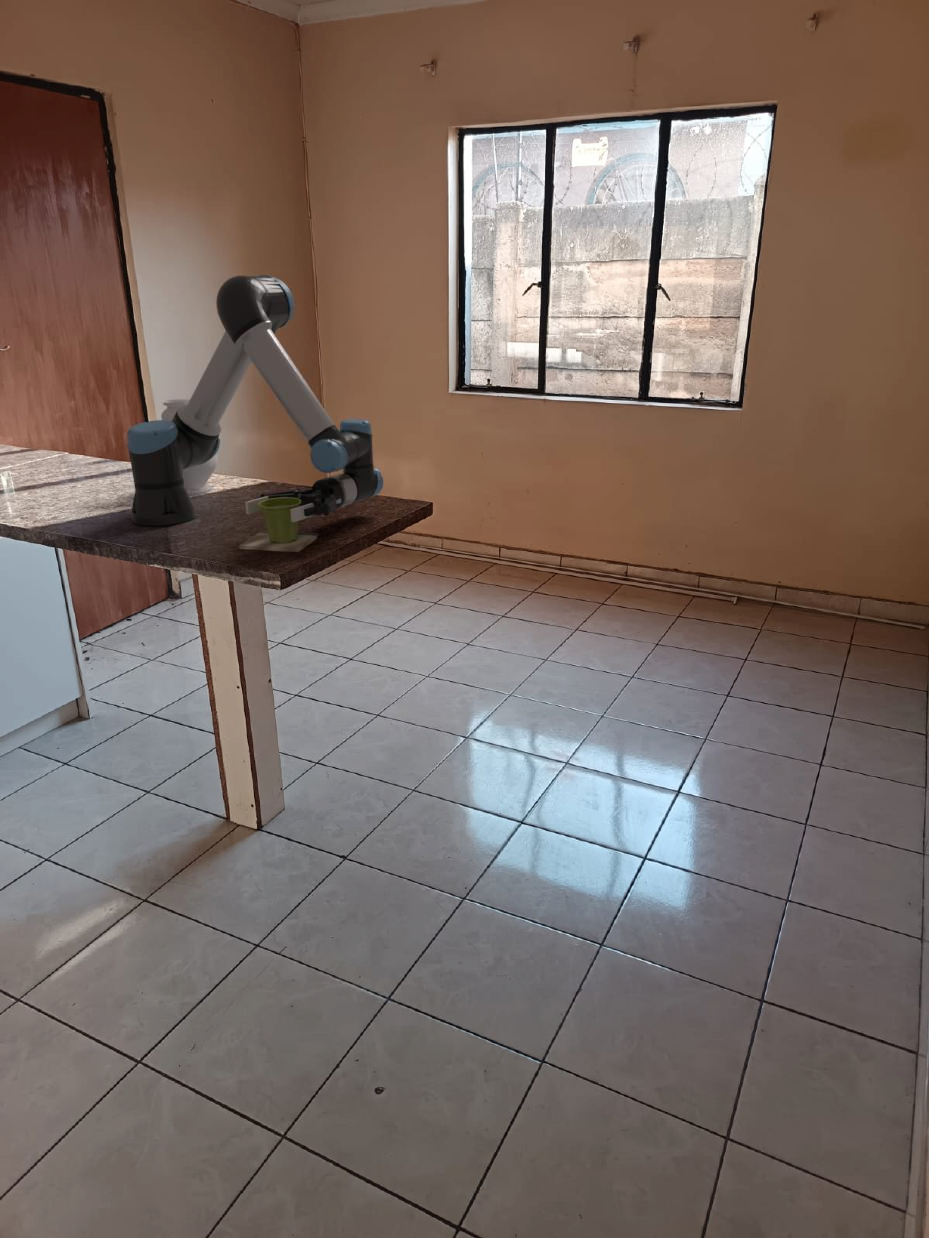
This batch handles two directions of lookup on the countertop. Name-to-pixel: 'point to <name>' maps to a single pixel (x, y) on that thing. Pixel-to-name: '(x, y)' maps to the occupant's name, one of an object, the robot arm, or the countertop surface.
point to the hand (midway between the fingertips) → (268, 512)
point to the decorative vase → (196, 474)
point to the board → (264, 543)
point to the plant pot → (280, 518)
